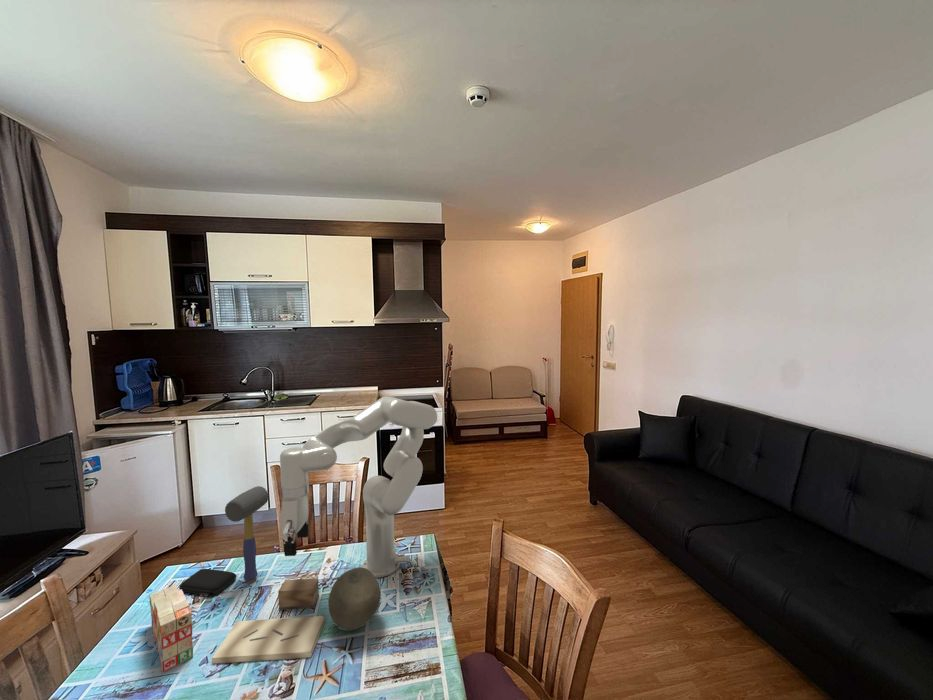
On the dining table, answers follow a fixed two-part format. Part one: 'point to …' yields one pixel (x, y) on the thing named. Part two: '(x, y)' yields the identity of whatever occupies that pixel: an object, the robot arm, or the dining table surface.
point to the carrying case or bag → (208, 582)
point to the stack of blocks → (171, 626)
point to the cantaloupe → (354, 598)
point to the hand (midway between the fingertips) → (297, 545)
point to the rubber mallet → (247, 524)
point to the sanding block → (298, 594)
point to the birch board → (270, 640)
